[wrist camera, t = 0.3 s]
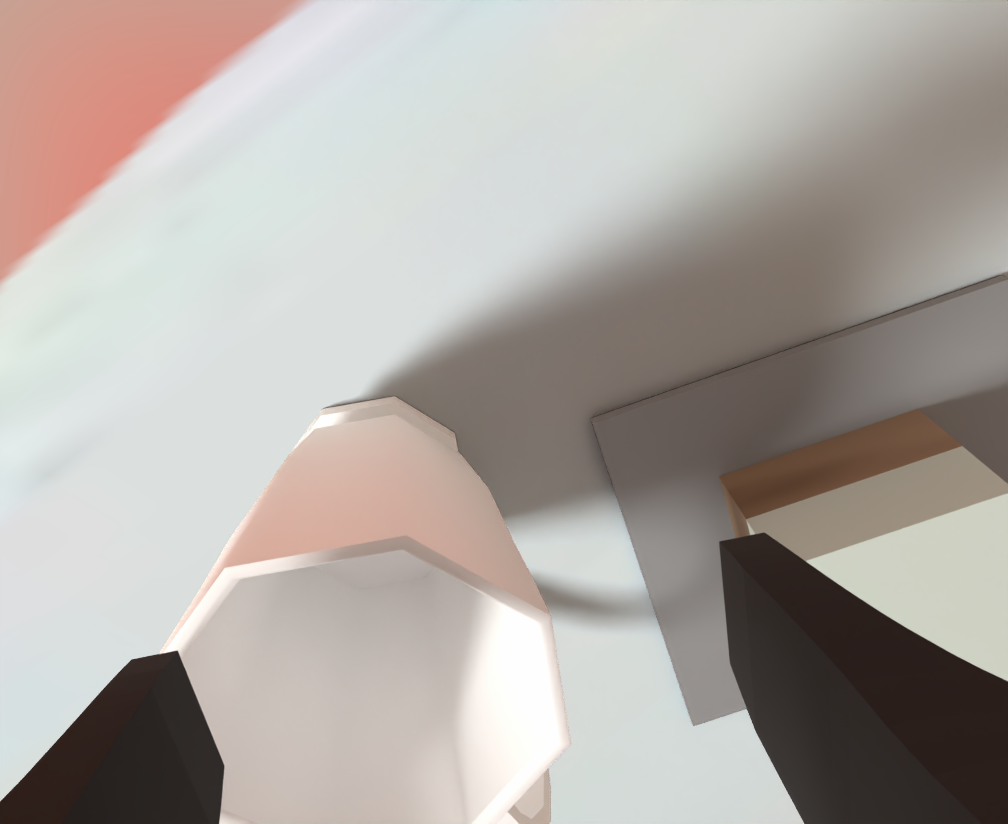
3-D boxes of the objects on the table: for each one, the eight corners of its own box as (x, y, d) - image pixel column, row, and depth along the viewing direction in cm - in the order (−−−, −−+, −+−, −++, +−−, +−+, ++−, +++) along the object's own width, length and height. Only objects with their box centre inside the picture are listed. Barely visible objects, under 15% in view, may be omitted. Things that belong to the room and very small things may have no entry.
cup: (419, 281, 20) (427, 450, 13) (630, 594, 24) (726, 856, 17) (160, 443, 21) (33, 683, 14) (404, 717, 25) (404, 1014, 18)
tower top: (985, 616, 23) (1035, 671, 21) (788, 681, 23) (821, 740, 21) (962, 445, 21) (1015, 490, 19) (746, 519, 21) (778, 570, 19)
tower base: (942, 569, 25) (985, 616, 23) (761, 630, 25) (788, 681, 23) (917, 408, 23) (962, 445, 21) (719, 476, 23) (746, 519, 21)
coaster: (1036, 605, 26) (1042, 611, 26) (690, 718, 26) (693, 726, 26) (1001, 275, 22) (1008, 279, 21) (590, 418, 22) (592, 424, 22)
